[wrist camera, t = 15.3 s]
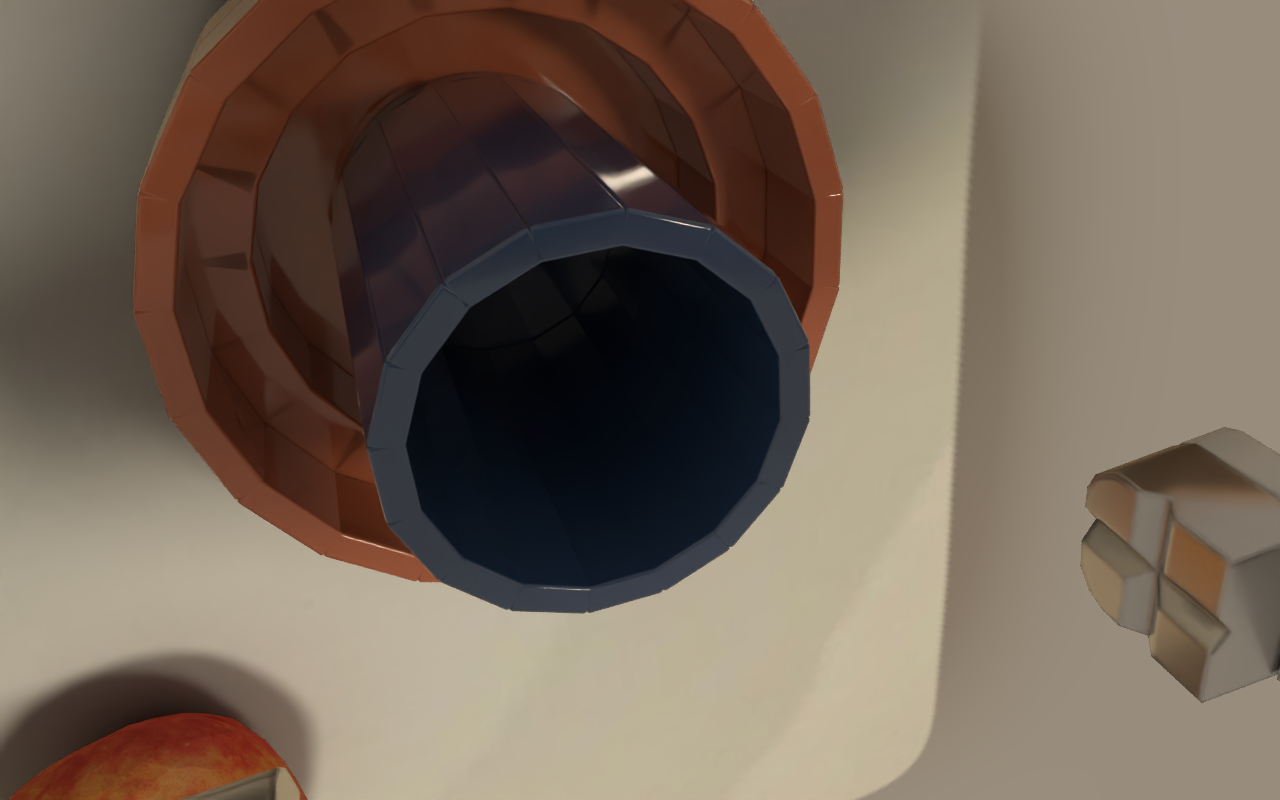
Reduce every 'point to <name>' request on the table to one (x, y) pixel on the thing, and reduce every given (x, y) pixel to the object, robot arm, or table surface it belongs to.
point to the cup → (555, 350)
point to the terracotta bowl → (307, 178)
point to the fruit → (157, 761)
